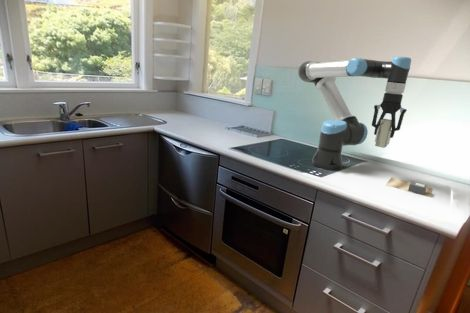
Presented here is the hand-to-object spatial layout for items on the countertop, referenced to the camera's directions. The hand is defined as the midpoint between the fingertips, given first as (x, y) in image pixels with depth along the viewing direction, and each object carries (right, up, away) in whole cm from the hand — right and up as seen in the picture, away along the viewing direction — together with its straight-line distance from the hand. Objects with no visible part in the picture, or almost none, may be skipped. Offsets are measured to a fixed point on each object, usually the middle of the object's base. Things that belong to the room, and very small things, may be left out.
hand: (381, 142), depth 137 cm
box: (0, -2, +1) cm, 2 cm away
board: (+8, -21, -8) cm, 24 cm away
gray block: (+8, -21, -14) cm, 27 cm away
